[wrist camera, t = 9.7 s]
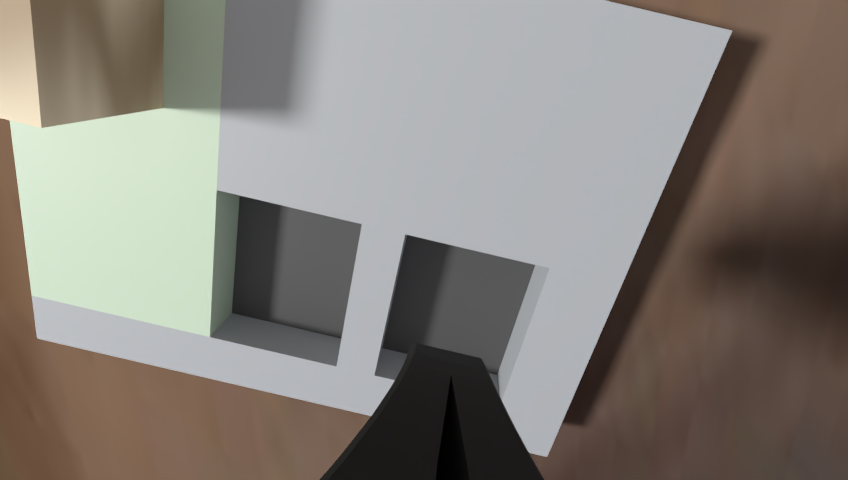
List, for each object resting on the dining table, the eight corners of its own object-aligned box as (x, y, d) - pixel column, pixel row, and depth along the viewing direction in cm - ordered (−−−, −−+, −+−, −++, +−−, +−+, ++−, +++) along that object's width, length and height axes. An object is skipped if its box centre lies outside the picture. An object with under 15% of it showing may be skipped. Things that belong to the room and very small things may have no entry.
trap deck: (539, 420, 20) (547, 456, 18) (76, 312, 20) (37, 338, 18) (697, 34, 14) (732, 30, 12) (39, -123, 14) (-24, -150, 12)
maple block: (162, 108, 14) (41, 128, 10) (23, 73, 14) (-156, 79, 10) (164, -55, 13) (20, -109, 9) (6, -94, 13) (-215, -168, 9)
